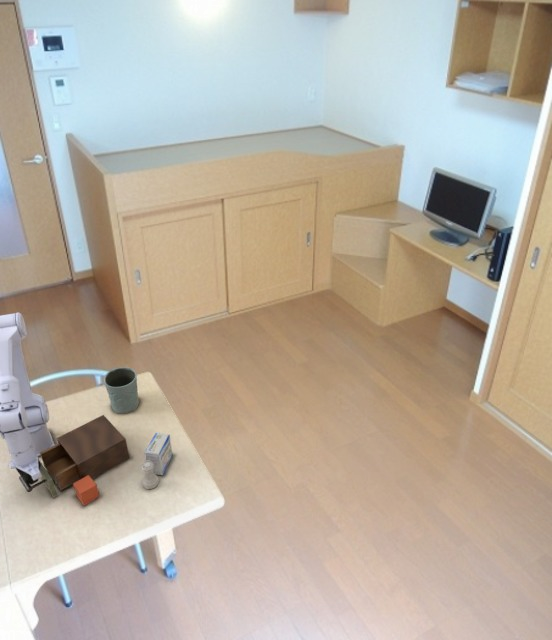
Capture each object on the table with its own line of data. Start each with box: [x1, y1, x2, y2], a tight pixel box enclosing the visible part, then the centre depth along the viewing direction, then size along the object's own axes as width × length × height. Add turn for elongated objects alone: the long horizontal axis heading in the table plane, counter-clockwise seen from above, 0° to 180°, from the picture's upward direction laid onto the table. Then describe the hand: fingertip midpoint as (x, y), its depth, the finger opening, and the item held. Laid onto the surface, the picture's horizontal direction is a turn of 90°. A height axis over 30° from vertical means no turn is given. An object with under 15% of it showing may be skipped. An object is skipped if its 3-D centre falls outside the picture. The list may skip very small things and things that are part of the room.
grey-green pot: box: [103, 366, 140, 415], centre depth 170 cm, size 10×10×12 cm
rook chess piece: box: [140, 459, 160, 490], centre depth 144 cm, size 4×4×8 cm
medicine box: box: [144, 432, 173, 476], centre depth 150 cm, size 8×4×9 cm, turn 168°
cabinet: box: [56, 414, 130, 480], centre depth 152 cm, size 14×13×8 cm
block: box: [72, 475, 100, 506], centre depth 142 cm, size 4×4×5 cm
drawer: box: [18, 442, 81, 498], centre depth 146 cm, size 18×12×6 cm, turn 133°
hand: (33, 481), depth 142 cm, fingers closed, pressing on drawer
